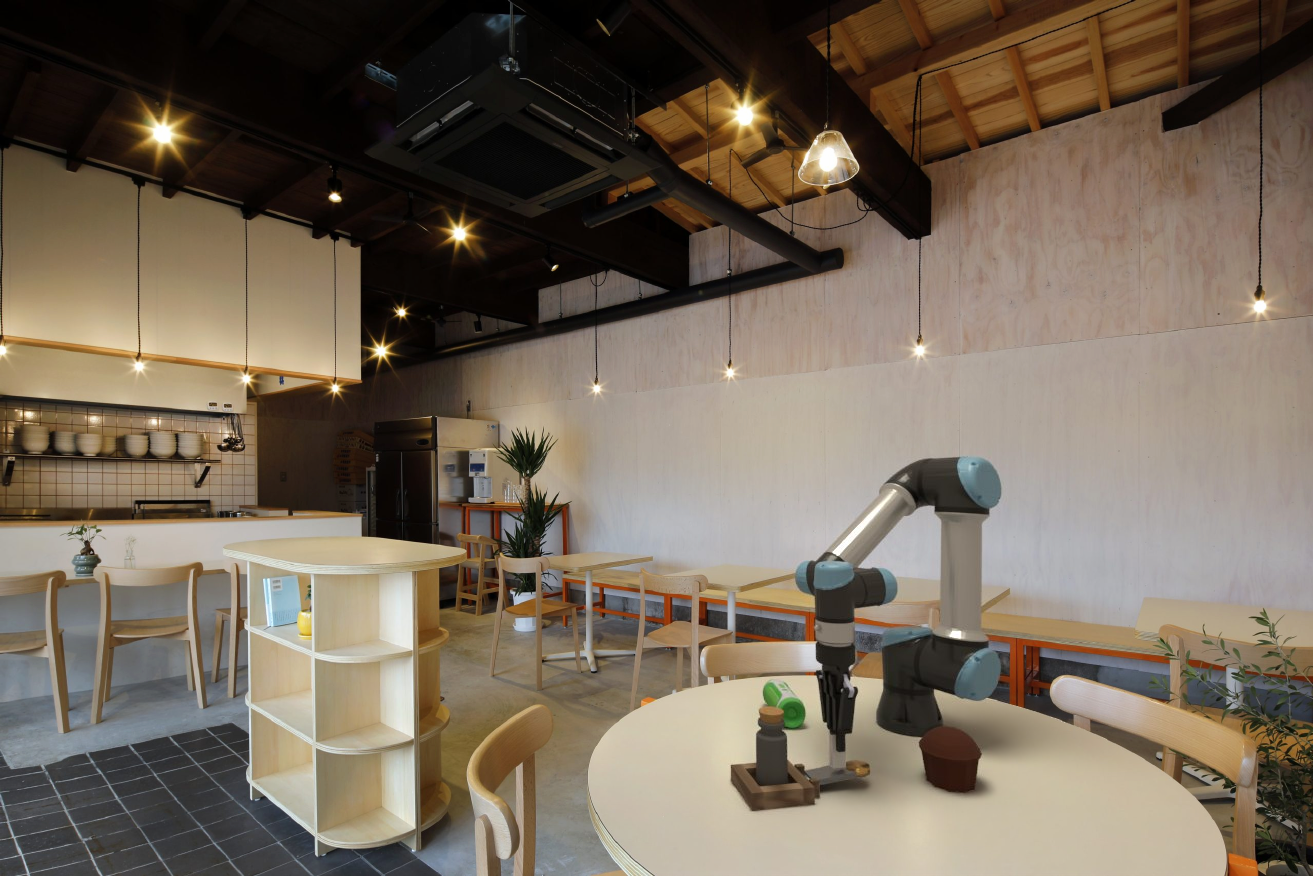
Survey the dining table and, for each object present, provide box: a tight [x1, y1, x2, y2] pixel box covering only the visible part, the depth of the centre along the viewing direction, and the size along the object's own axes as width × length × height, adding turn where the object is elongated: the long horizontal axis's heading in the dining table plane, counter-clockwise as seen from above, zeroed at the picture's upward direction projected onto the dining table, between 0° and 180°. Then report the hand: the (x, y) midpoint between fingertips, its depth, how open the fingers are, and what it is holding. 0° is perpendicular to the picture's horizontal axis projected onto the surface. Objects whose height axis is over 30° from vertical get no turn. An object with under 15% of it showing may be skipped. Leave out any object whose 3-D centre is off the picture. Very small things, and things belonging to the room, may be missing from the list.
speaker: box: [762, 678, 807, 729], centre depth 161 cm, size 18×7×8 cm, turn 4°
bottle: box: [755, 706, 789, 787], centre depth 122 cm, size 6×6×15 cm
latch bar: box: [800, 759, 871, 786], centre depth 124 cm, size 14×5×1 cm, turn 102°
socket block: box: [730, 759, 820, 812], centre depth 122 cm, size 14×12×3 cm
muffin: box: [918, 725, 983, 794], centre depth 126 cm, size 12×11×10 cm
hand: (837, 766), depth 124 cm, fingers closed
